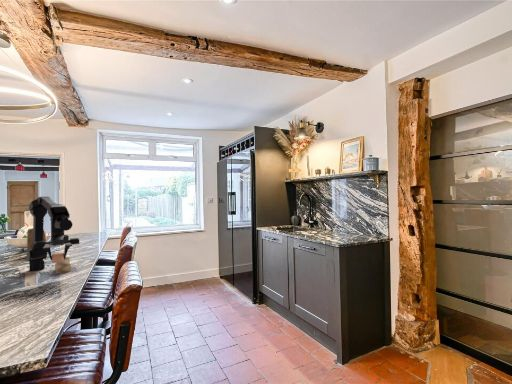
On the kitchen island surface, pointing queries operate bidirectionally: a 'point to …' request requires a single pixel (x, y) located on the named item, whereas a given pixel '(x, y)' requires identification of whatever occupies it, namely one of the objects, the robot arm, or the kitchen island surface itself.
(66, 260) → the top block
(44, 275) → the kitchen island surface
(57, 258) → the peach rounded cylinder
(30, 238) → the block
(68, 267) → the base block
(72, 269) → the mat
